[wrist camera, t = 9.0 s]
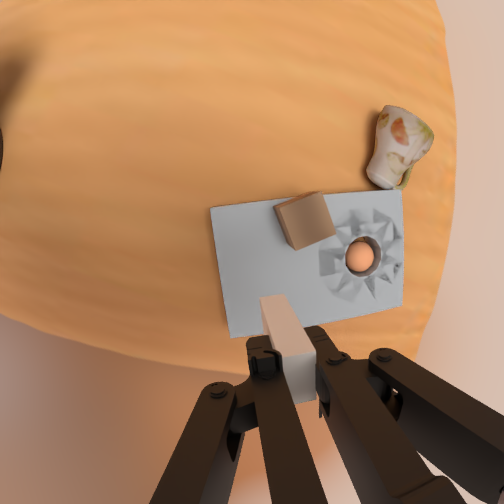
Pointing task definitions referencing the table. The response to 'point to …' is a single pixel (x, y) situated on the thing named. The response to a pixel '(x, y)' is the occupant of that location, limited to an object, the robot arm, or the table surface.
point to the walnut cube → (305, 220)
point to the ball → (359, 256)
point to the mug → (397, 147)
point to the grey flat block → (309, 261)
